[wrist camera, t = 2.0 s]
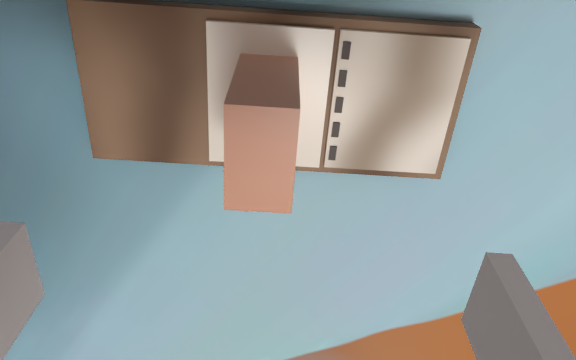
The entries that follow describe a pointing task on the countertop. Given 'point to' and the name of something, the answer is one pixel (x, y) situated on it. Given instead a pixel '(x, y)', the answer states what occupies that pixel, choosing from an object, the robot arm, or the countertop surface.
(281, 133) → the stub
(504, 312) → the robot arm
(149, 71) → the board
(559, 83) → the countertop surface
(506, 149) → the countertop surface
